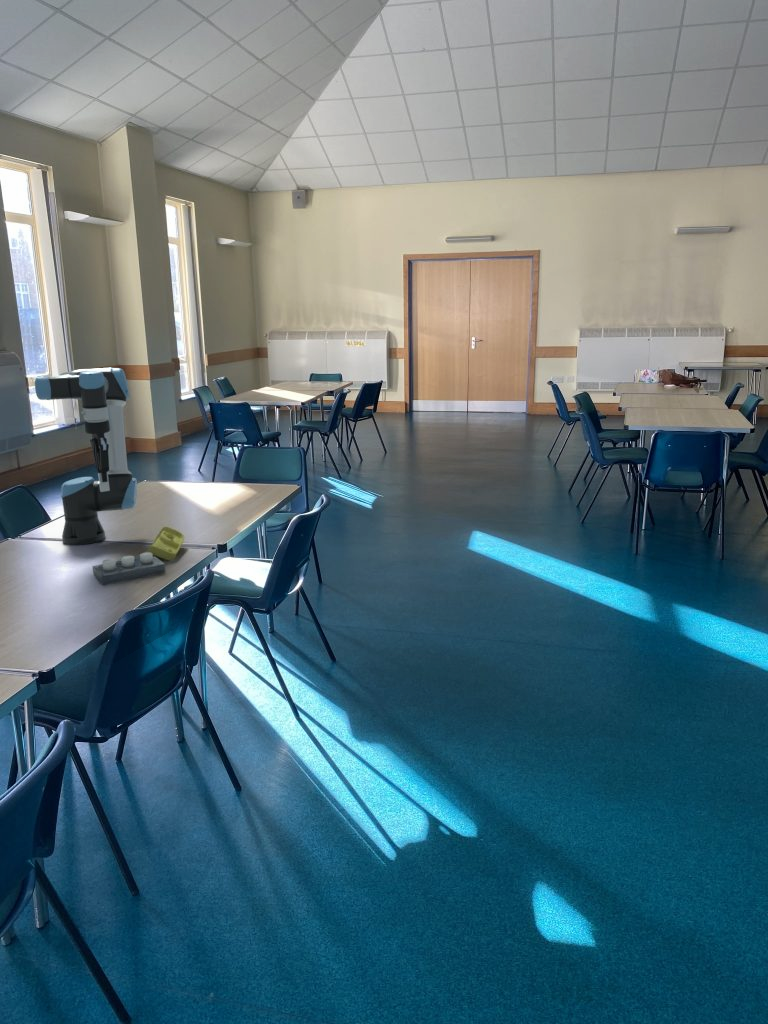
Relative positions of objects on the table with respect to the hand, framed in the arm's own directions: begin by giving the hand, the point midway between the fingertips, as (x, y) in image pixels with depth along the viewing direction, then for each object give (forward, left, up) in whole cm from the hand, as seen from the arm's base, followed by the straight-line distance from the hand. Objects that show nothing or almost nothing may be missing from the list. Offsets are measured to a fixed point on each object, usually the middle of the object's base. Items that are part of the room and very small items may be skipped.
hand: (104, 490), depth 249 cm
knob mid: (+12, +2, -26) cm, 29 cm away
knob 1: (+12, -4, -26) cm, 29 cm away
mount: (+12, +2, -26) cm, 29 cm away
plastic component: (-2, +19, -26) cm, 33 cm away
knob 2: (+12, +8, -26) cm, 30 cm away
